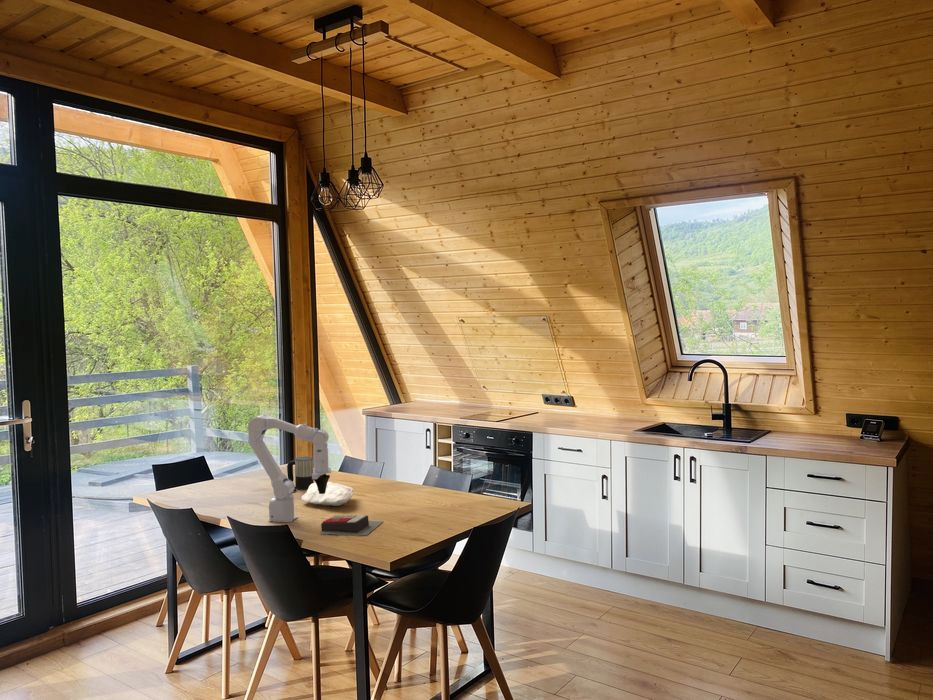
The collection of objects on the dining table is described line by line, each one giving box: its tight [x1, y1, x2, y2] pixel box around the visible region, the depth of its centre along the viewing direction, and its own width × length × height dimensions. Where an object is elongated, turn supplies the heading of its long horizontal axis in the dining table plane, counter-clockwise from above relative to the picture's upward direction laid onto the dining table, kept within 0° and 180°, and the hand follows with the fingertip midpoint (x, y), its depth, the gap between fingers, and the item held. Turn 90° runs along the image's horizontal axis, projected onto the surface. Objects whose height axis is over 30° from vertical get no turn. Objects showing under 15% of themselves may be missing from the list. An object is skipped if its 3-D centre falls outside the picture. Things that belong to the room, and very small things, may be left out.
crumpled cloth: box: [300, 480, 355, 507], centre depth 329 cm, size 24×35×9 cm
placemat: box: [320, 520, 384, 537], centre depth 286 cm, size 18×20×1 cm
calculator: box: [320, 514, 370, 532], centre depth 285 cm, size 11×4×15 cm
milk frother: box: [286, 456, 315, 492], centre depth 360 cm, size 14×16×15 cm
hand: (322, 493), depth 301 cm, fingers closed
